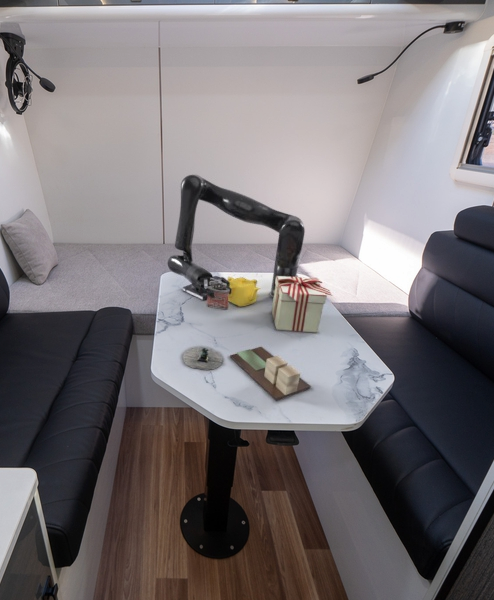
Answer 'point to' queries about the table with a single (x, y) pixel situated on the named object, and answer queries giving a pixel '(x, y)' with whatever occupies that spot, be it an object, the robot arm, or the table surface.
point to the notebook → (189, 290)
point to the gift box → (298, 303)
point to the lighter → (218, 296)
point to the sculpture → (202, 358)
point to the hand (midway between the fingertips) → (221, 293)
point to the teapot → (243, 291)
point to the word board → (262, 372)
